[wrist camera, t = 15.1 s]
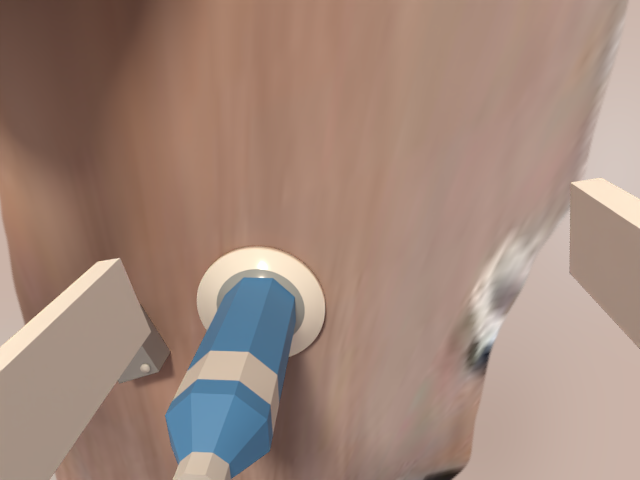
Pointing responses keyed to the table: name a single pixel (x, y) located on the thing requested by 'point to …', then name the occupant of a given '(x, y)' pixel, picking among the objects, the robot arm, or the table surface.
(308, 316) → the cream plate
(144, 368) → the box
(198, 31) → the table surface
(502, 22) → the table surface
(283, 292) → the water bottle
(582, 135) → the table surface
